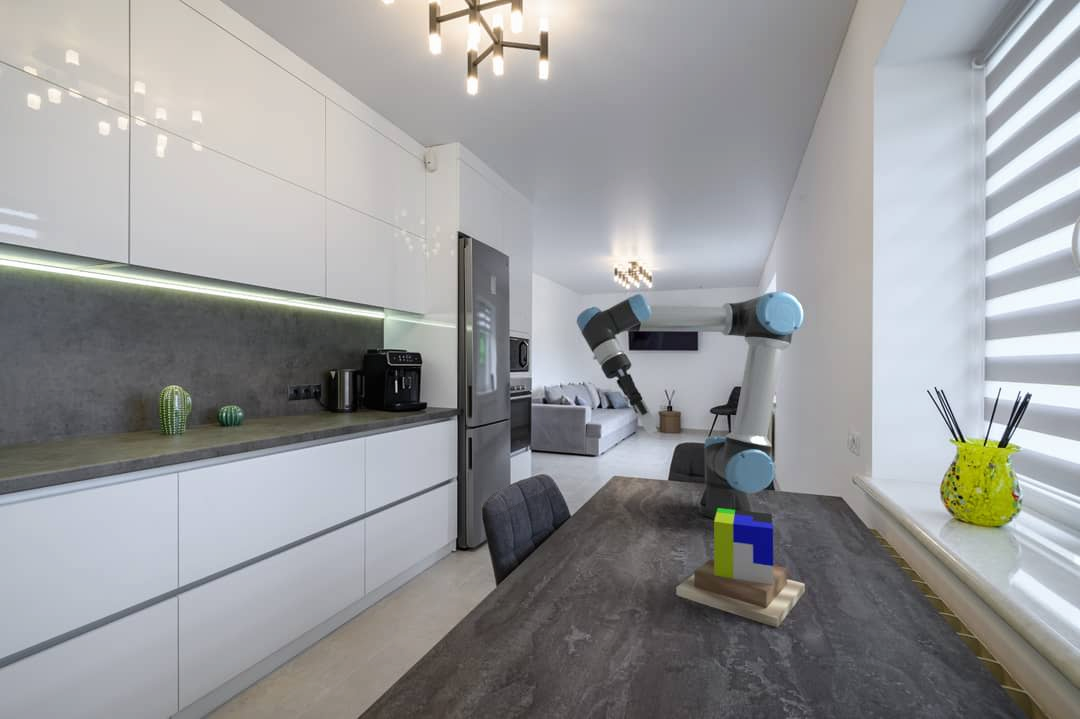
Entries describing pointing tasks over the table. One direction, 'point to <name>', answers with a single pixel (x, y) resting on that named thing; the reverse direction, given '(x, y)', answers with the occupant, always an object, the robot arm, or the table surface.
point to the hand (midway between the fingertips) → (652, 430)
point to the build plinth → (745, 607)
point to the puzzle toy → (743, 545)
